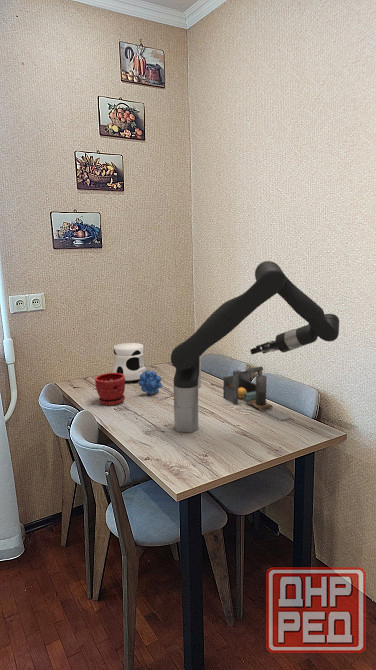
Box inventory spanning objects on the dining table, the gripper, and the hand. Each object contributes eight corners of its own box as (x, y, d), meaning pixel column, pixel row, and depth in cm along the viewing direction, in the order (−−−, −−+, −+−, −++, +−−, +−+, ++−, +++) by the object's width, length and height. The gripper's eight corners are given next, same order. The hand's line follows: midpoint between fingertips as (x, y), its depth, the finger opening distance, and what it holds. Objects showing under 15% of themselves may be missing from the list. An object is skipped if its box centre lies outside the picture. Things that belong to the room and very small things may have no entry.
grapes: (142, 399, 206) (141, 374, 204) (137, 395, 212) (136, 370, 210) (165, 395, 211) (165, 370, 209) (160, 391, 217) (159, 367, 215)
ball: (239, 399, 208) (246, 401, 204) (232, 394, 206) (238, 396, 202) (244, 389, 210) (250, 391, 205) (236, 384, 207) (243, 386, 203)
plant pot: (112, 395, 212) (111, 370, 210) (131, 401, 204) (130, 375, 202) (90, 402, 203) (88, 377, 200) (109, 409, 194) (108, 382, 192)
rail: (291, 419, 181) (291, 417, 181) (281, 421, 179) (281, 419, 178) (268, 408, 193) (269, 406, 193) (259, 410, 191) (259, 409, 190)
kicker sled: (272, 407, 192) (272, 378, 189) (260, 409, 189) (261, 380, 186) (254, 398, 202) (255, 371, 199) (244, 401, 199) (244, 373, 197)
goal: (262, 399, 205) (263, 367, 202) (235, 404, 198) (235, 371, 195) (249, 392, 213) (249, 362, 210) (222, 398, 206) (222, 366, 203)
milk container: (111, 376, 243) (109, 343, 240) (142, 373, 248) (141, 341, 245) (115, 385, 227) (114, 350, 223) (149, 382, 232) (148, 348, 228)
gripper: (296, 331, 182) (263, 342, 193) (278, 331, 172) (244, 343, 182) (301, 348, 181) (268, 359, 191) (283, 350, 170) (249, 361, 180)
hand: (256, 351), depth 187 cm, fingers open, 8 cm apart
